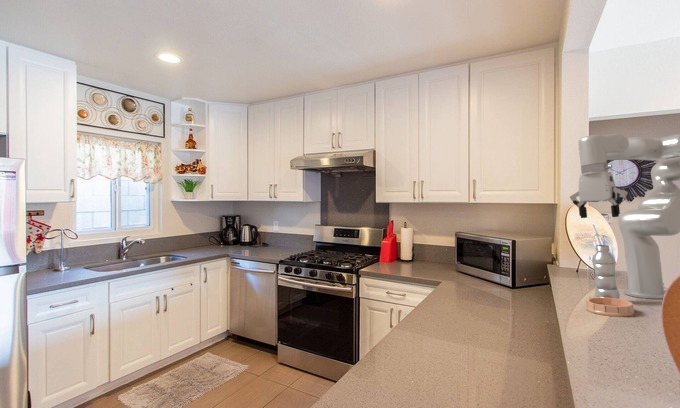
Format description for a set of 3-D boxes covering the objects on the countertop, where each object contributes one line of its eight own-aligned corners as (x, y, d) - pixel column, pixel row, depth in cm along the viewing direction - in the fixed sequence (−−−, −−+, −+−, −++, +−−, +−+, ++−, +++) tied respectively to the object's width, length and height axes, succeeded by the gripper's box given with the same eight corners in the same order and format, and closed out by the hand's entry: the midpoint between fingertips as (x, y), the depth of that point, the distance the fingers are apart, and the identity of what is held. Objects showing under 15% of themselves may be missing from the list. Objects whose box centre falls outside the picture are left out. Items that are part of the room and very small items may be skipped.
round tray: (597, 304, 114) (596, 295, 114) (641, 311, 103) (640, 302, 103) (578, 310, 108) (578, 301, 108) (623, 319, 98) (622, 309, 98)
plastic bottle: (625, 304, 112) (618, 245, 112) (602, 304, 113) (596, 246, 114) (613, 299, 118) (607, 244, 119) (592, 299, 119) (586, 245, 120)
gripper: (629, 166, 112) (634, 215, 111) (573, 173, 127) (578, 217, 126) (618, 165, 108) (624, 217, 107) (562, 173, 123) (567, 218, 123)
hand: (599, 217), depth 117 cm, fingers open, 9 cm apart
